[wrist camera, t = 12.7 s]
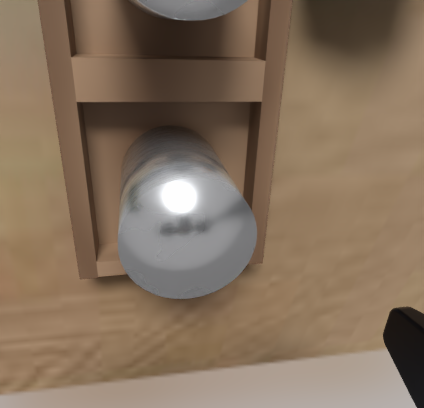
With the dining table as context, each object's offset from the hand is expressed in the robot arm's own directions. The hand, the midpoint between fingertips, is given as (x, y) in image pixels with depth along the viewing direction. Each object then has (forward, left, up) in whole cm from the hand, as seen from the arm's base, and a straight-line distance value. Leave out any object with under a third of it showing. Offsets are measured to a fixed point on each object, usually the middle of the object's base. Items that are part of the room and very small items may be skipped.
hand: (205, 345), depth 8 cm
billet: (0, 0, -10) cm, 10 cm away
